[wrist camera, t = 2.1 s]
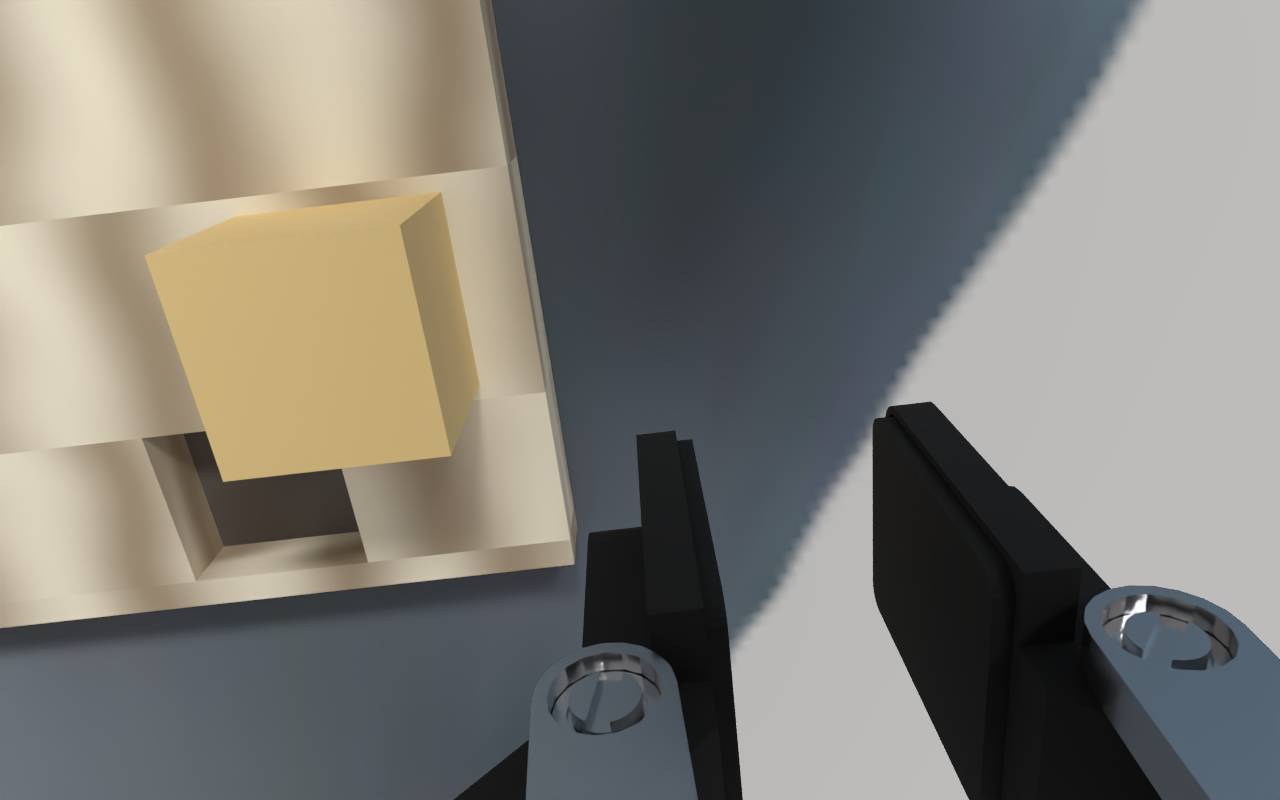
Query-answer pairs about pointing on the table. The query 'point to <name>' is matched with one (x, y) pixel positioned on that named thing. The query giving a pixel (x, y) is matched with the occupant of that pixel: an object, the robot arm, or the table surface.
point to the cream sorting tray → (200, 198)
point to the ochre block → (322, 335)
